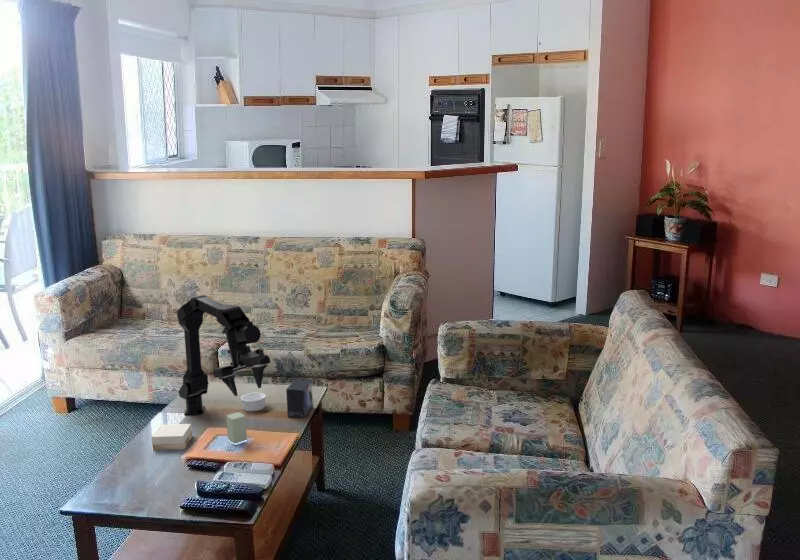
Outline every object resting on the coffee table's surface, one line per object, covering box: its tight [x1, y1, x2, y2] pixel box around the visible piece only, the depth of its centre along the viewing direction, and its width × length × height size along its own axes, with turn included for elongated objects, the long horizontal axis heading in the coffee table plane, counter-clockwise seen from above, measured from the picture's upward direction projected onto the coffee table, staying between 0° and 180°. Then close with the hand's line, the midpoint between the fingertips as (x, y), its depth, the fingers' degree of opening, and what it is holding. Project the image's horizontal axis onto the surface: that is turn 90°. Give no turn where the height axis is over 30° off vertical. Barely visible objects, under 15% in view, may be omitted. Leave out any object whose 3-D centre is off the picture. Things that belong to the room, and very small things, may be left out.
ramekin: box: [240, 391, 266, 412], centre depth 272 cm, size 9×9×4 cm
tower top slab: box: [150, 423, 193, 445], centre depth 243 cm, size 10×10×2 cm
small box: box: [286, 378, 314, 419], centre depth 265 cm, size 11×6×10 cm, turn 168°
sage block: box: [225, 411, 248, 443], centre depth 242 cm, size 4×4×9 cm
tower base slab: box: [151, 430, 193, 451], centre depth 243 cm, size 10×10×2 cm
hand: (248, 391), depth 244 cm, fingers open, 9 cm apart
